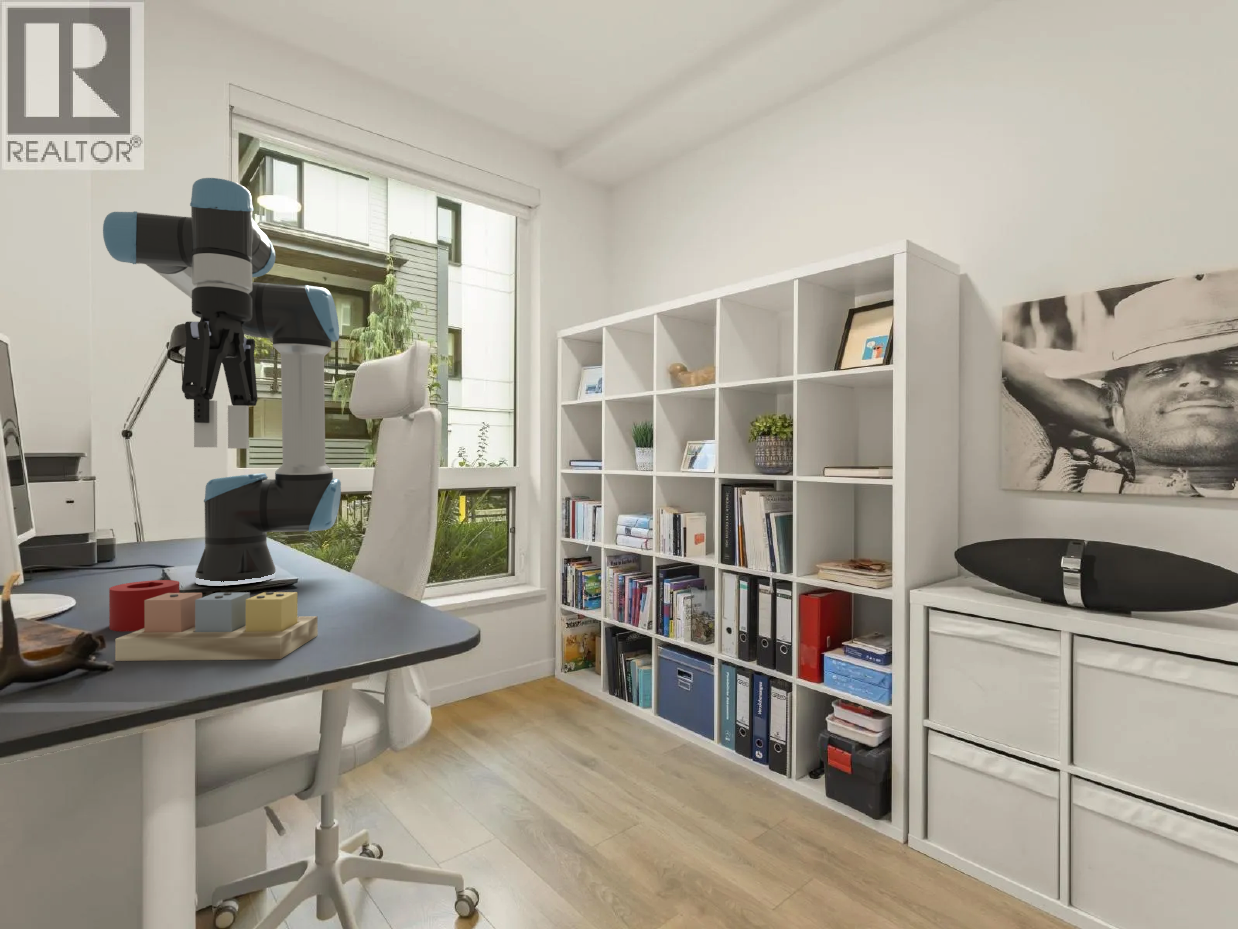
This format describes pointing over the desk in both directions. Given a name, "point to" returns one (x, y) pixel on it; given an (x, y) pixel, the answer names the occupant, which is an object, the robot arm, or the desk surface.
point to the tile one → (170, 612)
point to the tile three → (271, 611)
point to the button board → (215, 643)
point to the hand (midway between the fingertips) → (222, 447)
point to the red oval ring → (135, 602)
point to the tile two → (221, 612)
